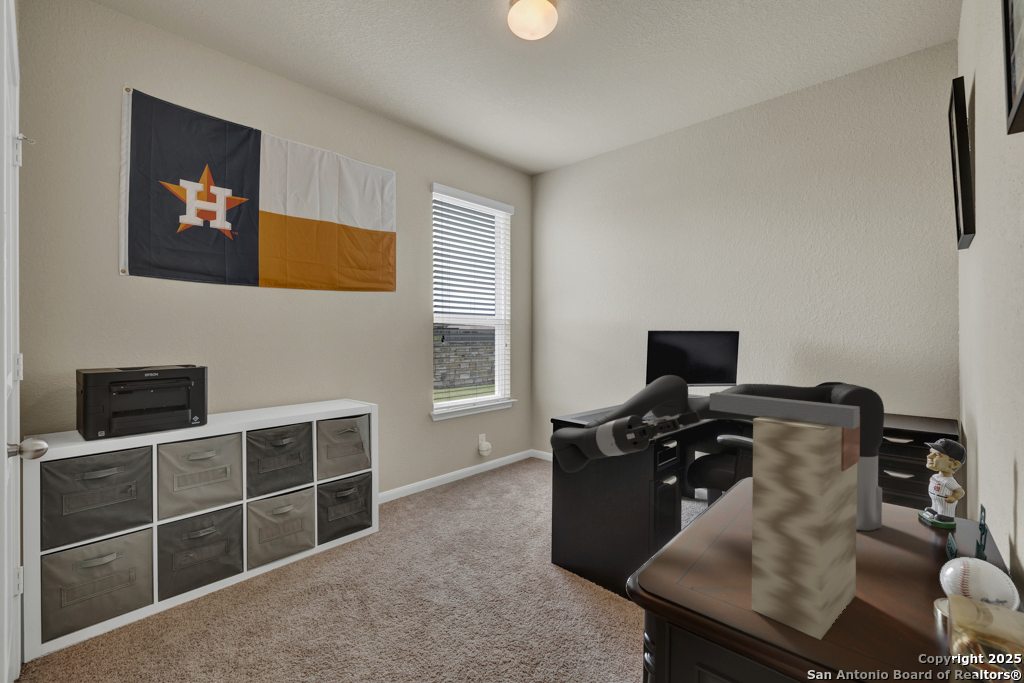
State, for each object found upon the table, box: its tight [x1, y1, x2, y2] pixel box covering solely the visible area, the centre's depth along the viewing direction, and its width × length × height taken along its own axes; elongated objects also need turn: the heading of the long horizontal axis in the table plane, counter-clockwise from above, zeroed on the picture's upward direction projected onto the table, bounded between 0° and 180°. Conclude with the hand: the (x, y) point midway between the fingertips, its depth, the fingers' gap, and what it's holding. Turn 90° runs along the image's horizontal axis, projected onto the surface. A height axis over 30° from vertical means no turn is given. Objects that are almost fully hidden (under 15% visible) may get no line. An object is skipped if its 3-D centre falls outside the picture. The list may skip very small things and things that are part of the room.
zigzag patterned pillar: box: [751, 417, 860, 641], centre depth 79 cm, size 10×18×32 cm, turn 130°
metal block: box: [709, 391, 860, 429], centre depth 78 cm, size 22×3×3 cm, turn 40°
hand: (688, 419), depth 90 cm, fingers open, 8 cm apart
